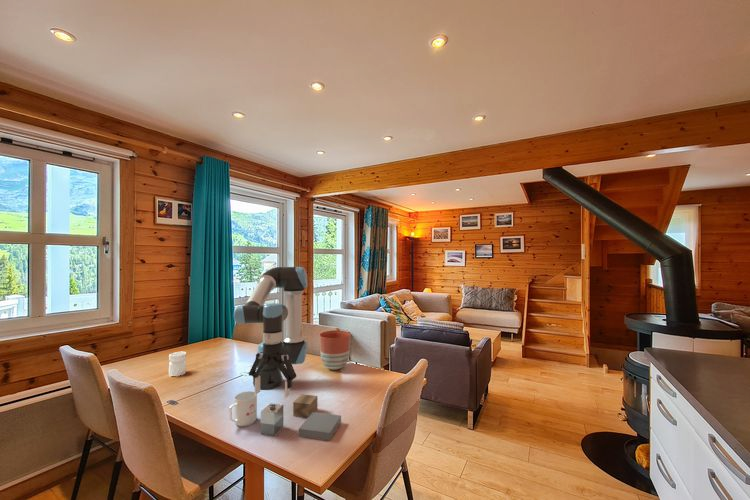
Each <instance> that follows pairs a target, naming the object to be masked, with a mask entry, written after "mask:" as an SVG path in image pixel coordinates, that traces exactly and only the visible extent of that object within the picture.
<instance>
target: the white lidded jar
mask: <svg viewBox="0 0 750 500" xmlns="http://www.w3.org/2000/svg"><path fill="white" fill-rule="evenodd" d="M186 358H187V351H175V352H172V353H170V354H169V355H168V360H169V363H168V377H171V376H176V377H179V376H180V375H181V376H183V375H185V374H186V372H187V359H186ZM181 376H180V377H181Z"/></svg>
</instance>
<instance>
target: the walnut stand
mask: <svg viewBox="0 0 750 500" xmlns="http://www.w3.org/2000/svg"><path fill="white" fill-rule="evenodd" d="M292 405H293V407H292V408H293V410H292V411H293V414H292V415H293V417H299V418H301V417H302V418H306V419H307V418H308V417H309V416H310V415H311V414H312V412H317V410H318V395H311V394H305V393H304V394H300V395H299V396H298V397H297V398H296V399H295V400H294V401H293V404H292Z"/></svg>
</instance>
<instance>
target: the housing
mask: <svg viewBox="0 0 750 500" xmlns="http://www.w3.org/2000/svg"><path fill="white" fill-rule="evenodd" d="M283 427H284V404H281V403H273V402H271V403H269V404H268V405H267V406H266V407H264V408H263V409H262V410H260V435H263V436H270V437H275V436H276V435H277V434H278V433H279V432H280V431H281V430H282V429H283Z"/></svg>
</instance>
